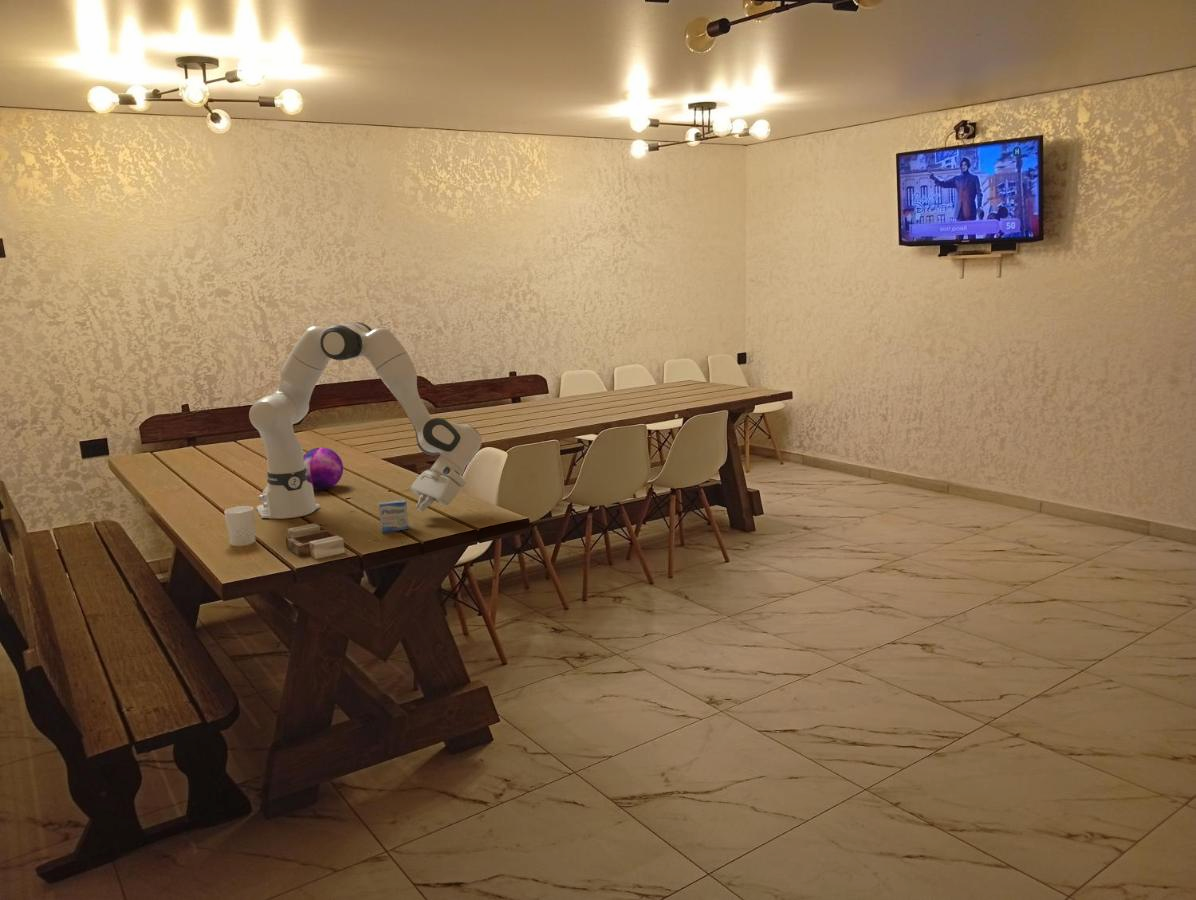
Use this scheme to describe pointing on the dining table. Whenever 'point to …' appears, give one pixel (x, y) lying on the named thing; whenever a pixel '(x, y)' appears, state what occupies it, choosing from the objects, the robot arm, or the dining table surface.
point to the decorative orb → (323, 468)
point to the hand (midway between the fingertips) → (419, 509)
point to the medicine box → (393, 515)
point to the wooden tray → (313, 542)
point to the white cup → (240, 525)
